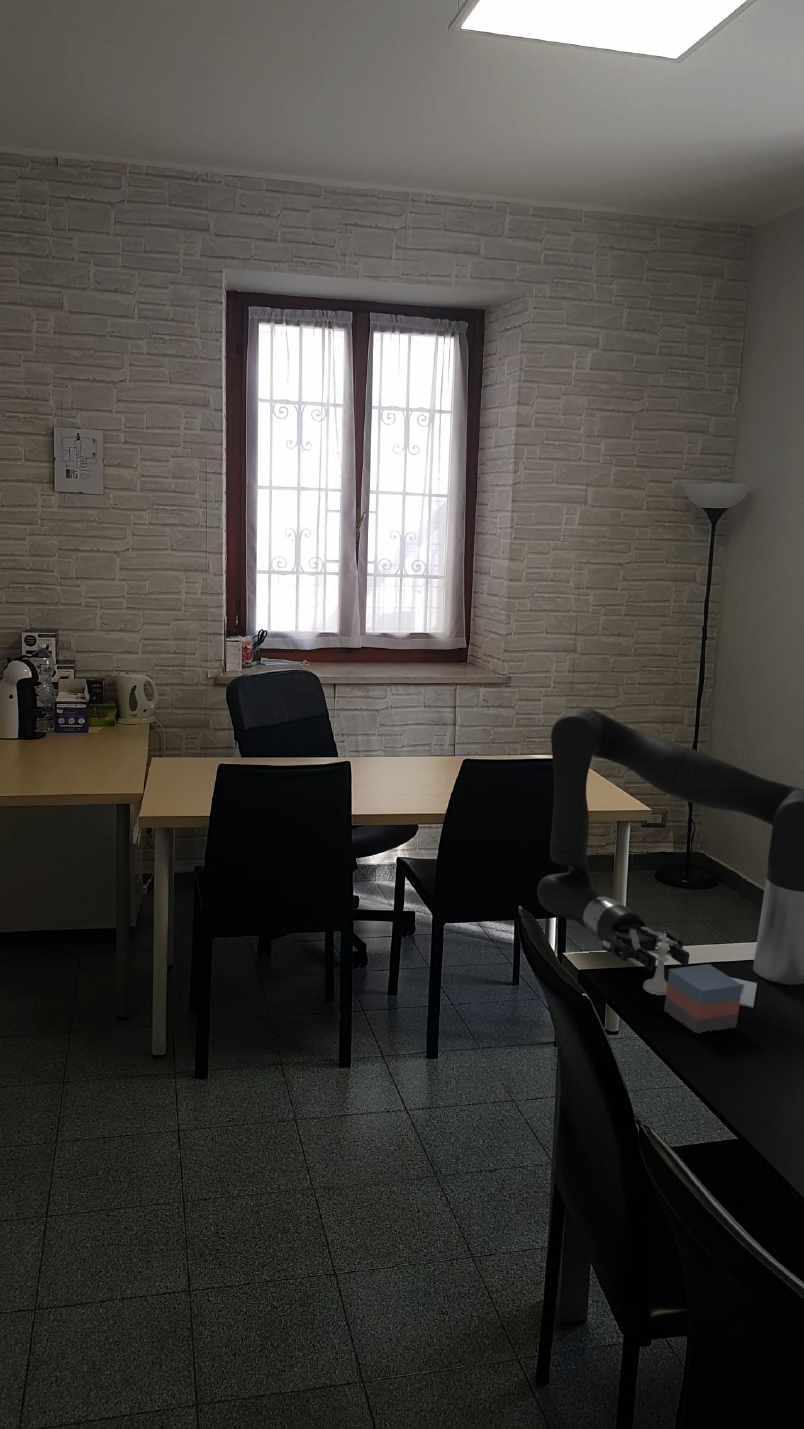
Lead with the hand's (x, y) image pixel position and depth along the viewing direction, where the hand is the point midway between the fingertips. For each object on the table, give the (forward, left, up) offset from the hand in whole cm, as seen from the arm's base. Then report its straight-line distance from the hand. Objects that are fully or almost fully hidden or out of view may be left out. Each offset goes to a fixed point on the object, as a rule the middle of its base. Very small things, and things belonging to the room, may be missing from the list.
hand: (670, 961), depth 178 cm
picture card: (-8, +10, -6) cm, 14 cm away
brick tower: (+6, +6, -6) cm, 11 cm away
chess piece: (-2, -2, -6) cm, 7 cm away
